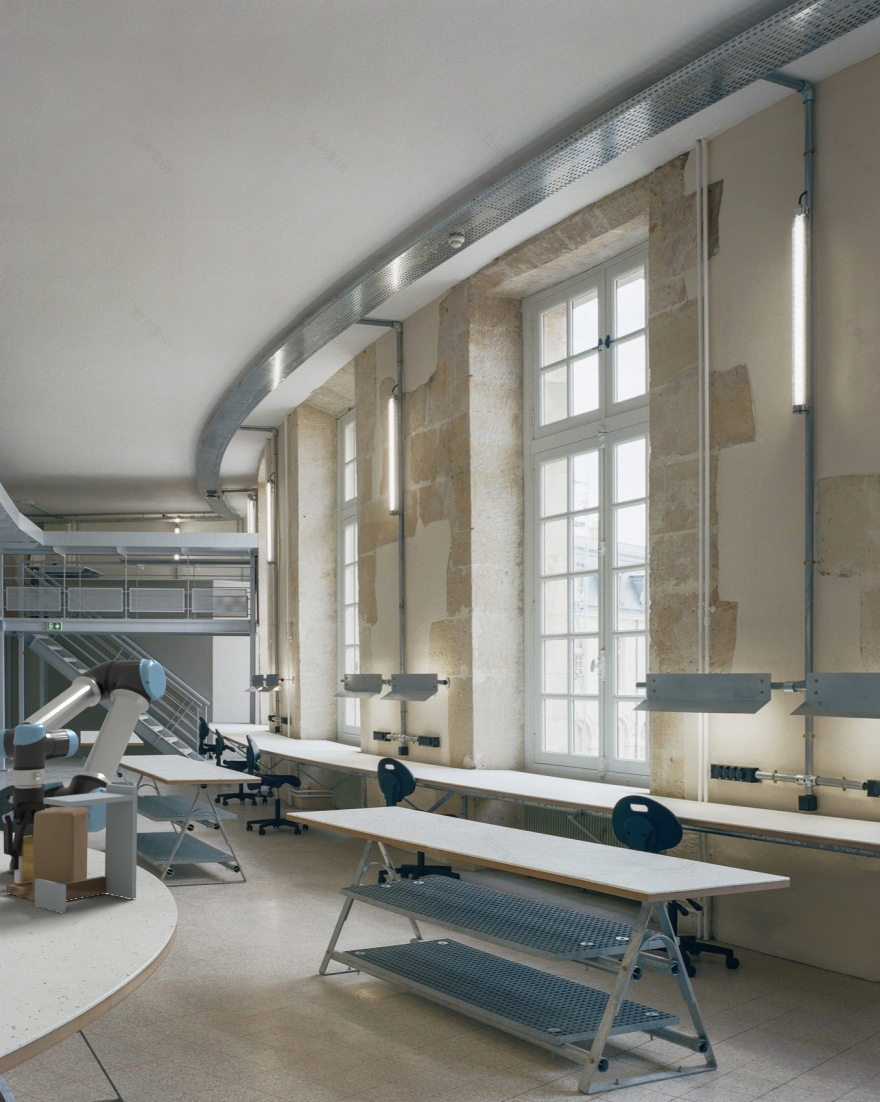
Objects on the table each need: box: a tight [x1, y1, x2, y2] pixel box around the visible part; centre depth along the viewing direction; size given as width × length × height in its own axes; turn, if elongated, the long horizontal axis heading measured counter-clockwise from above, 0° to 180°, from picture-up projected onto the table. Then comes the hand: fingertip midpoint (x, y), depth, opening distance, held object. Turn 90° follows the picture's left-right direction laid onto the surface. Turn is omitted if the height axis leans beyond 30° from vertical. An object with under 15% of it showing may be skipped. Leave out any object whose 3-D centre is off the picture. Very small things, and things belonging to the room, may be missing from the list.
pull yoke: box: [5, 836, 106, 902], centre depth 270 cm, size 26×15×12 cm, turn 48°
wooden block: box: [32, 807, 89, 890], centre depth 267 cm, size 10×10×20 cm
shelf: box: [34, 783, 138, 913], centre depth 258 cm, size 12×19×26 cm, turn 138°
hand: (27, 881), depth 276 cm, fingers closed on pull yoke, 4 cm apart
